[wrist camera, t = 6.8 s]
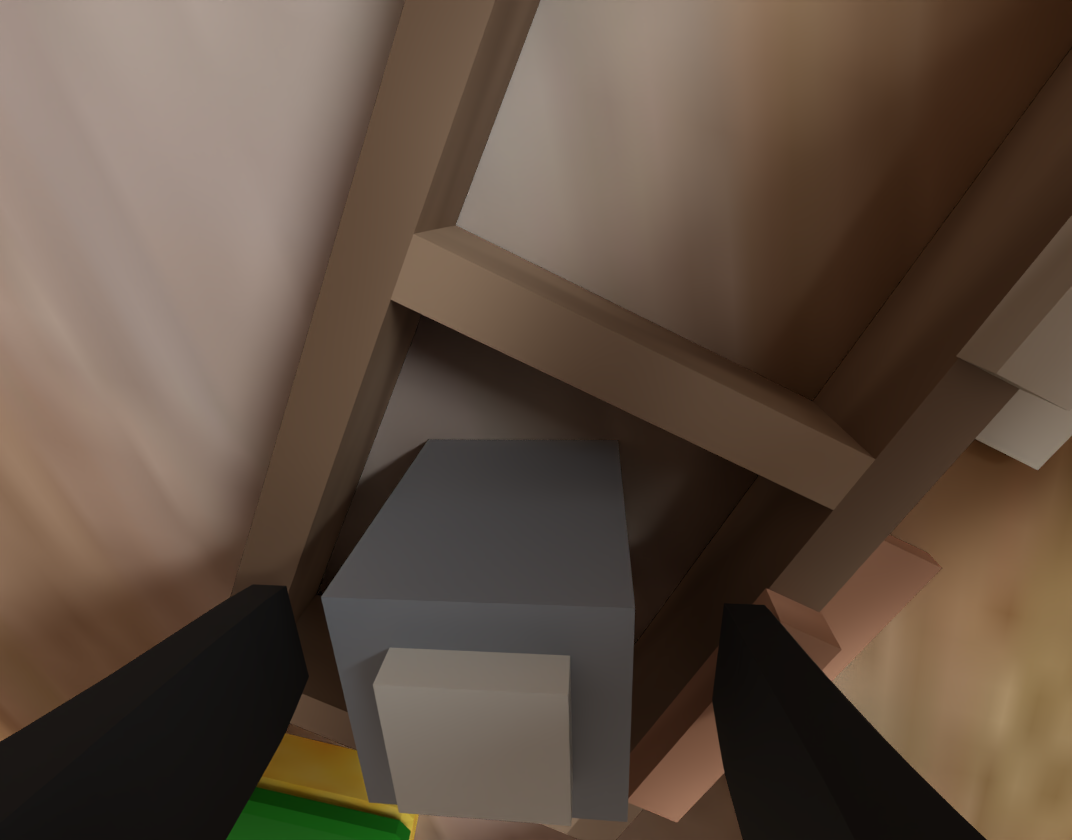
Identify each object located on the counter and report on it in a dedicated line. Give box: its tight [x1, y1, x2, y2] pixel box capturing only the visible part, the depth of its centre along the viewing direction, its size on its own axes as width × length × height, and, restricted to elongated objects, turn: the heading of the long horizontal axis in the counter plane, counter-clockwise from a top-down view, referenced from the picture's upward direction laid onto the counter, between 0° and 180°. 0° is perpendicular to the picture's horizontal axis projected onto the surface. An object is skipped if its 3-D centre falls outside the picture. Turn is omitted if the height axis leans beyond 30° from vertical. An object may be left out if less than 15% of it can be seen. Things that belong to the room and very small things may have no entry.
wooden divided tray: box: [231, 0, 1072, 840], centre depth 9 cm, size 12×20×3 cm, turn 155°
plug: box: [321, 440, 635, 826], centre depth 10 cm, size 4×4×6 cm
